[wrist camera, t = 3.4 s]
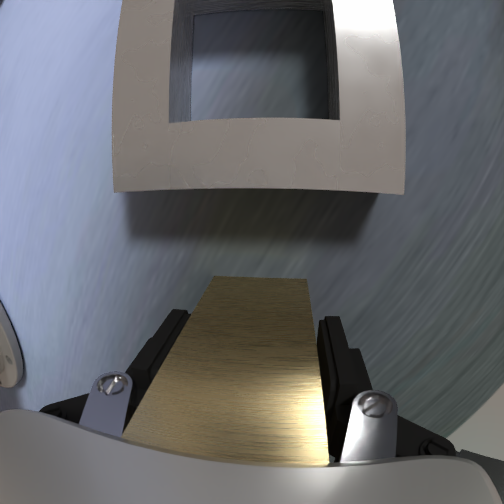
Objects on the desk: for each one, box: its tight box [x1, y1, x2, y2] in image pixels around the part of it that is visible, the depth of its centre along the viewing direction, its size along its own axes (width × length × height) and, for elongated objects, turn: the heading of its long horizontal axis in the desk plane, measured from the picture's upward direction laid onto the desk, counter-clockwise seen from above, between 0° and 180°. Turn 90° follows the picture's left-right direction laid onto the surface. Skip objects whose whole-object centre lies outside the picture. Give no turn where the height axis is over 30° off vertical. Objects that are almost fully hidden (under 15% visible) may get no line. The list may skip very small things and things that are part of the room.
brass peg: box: [121, 276, 329, 463], centre depth 9 cm, size 4×4×9 cm
